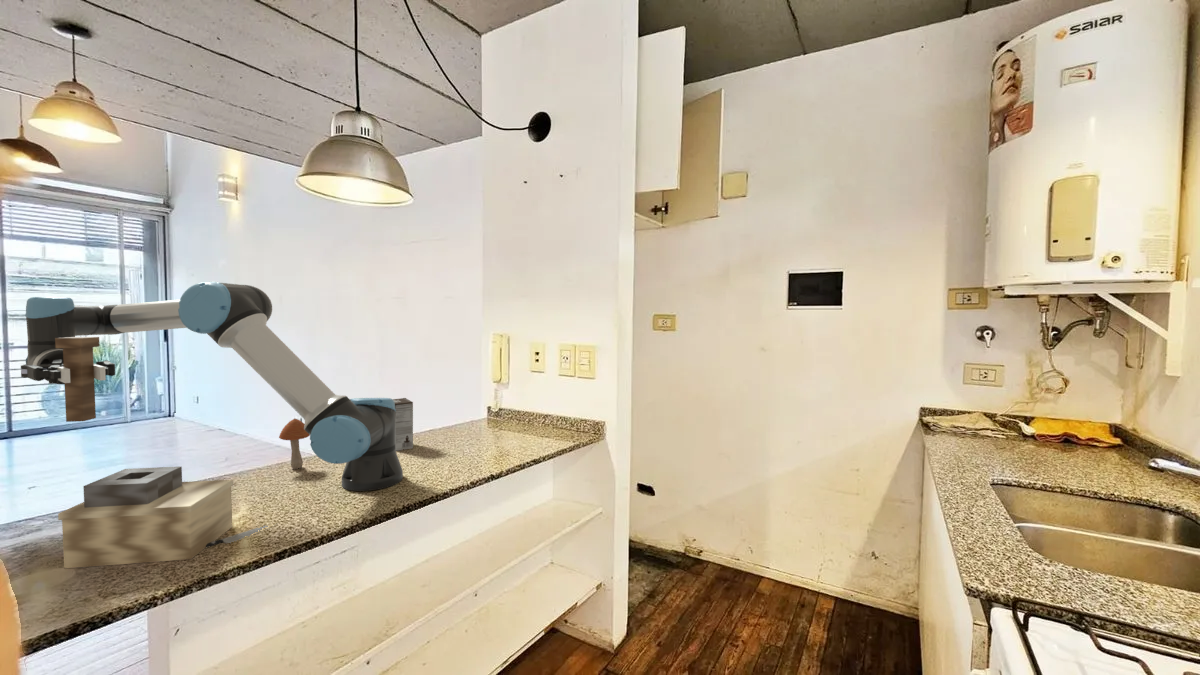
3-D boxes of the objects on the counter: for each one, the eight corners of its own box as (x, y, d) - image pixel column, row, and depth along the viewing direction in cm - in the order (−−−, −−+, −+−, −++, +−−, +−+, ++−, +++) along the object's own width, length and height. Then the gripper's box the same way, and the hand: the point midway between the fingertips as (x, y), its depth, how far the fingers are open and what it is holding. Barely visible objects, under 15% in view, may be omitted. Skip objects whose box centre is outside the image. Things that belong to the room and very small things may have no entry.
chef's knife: (292, 524, 108) (284, 520, 109) (292, 519, 108) (285, 515, 109) (185, 562, 92) (178, 556, 93) (185, 556, 91) (178, 551, 93)
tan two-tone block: (234, 526, 106) (232, 461, 105) (191, 559, 91) (189, 485, 91) (123, 533, 102) (120, 465, 101) (60, 569, 87) (57, 491, 87)
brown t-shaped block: (102, 417, 103) (99, 337, 102) (84, 421, 99) (81, 338, 98) (77, 417, 103) (74, 336, 102) (58, 422, 98) (55, 338, 97)
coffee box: (386, 445, 170) (386, 399, 169) (405, 442, 174) (405, 397, 173) (394, 451, 163) (394, 403, 162) (414, 448, 167) (413, 401, 166)
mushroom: (285, 475, 138) (283, 422, 138) (275, 468, 144) (274, 418, 143) (315, 468, 144) (314, 418, 144) (305, 462, 150) (304, 414, 149)
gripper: (114, 378, 118) (144, 388, 105) (1, 387, 103) (19, 399, 90) (113, 347, 117) (142, 353, 104) (0, 352, 103) (17, 359, 90)
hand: (85, 374), depth 97 cm, fingers closed on brown t-shaped block, 4 cm apart
